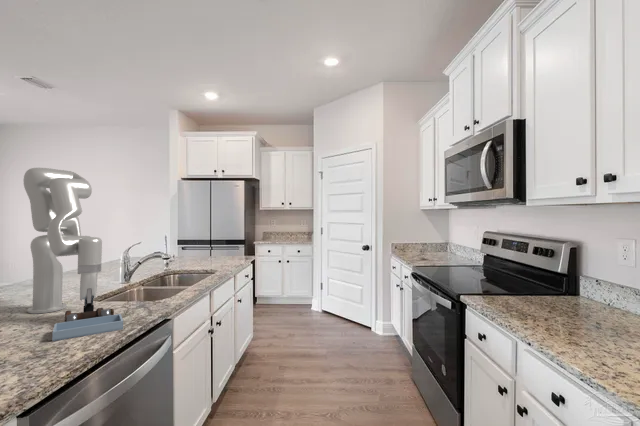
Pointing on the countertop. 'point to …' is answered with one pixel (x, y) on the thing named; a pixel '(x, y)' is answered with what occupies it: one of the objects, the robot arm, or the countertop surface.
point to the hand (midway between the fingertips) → (88, 315)
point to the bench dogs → (74, 316)
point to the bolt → (87, 314)
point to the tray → (87, 327)
